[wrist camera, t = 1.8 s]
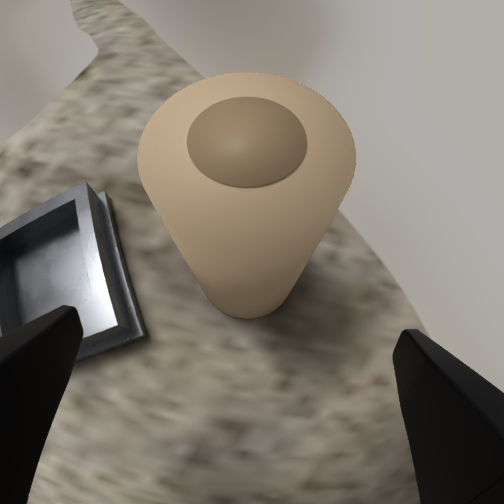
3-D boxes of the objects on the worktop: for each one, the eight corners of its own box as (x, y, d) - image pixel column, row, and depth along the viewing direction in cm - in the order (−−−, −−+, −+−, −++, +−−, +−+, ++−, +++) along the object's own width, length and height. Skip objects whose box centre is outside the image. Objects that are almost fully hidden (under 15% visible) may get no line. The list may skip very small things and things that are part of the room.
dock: (147, 336, 19) (128, 330, 15) (26, 378, 17) (-3, 377, 14) (109, 197, 22) (91, 172, 19) (5, 249, 20) (-19, 234, 17)
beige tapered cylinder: (308, 296, 20) (397, 191, 7) (221, 333, 19) (171, 280, 7) (270, 217, 22) (293, 56, 9) (188, 249, 21) (121, 105, 8)
